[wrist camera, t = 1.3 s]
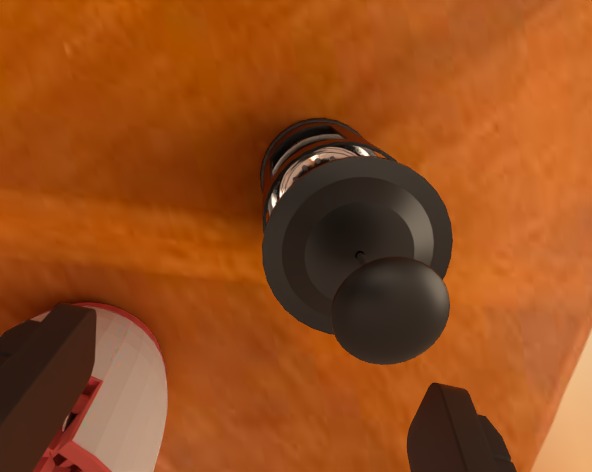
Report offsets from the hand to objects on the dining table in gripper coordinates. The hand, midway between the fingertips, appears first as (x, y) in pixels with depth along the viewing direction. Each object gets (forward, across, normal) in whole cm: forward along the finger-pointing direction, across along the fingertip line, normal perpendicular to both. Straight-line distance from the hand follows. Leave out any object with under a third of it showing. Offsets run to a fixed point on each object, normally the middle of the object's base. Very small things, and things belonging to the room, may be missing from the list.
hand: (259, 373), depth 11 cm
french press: (+27, -2, +4) cm, 28 cm away
